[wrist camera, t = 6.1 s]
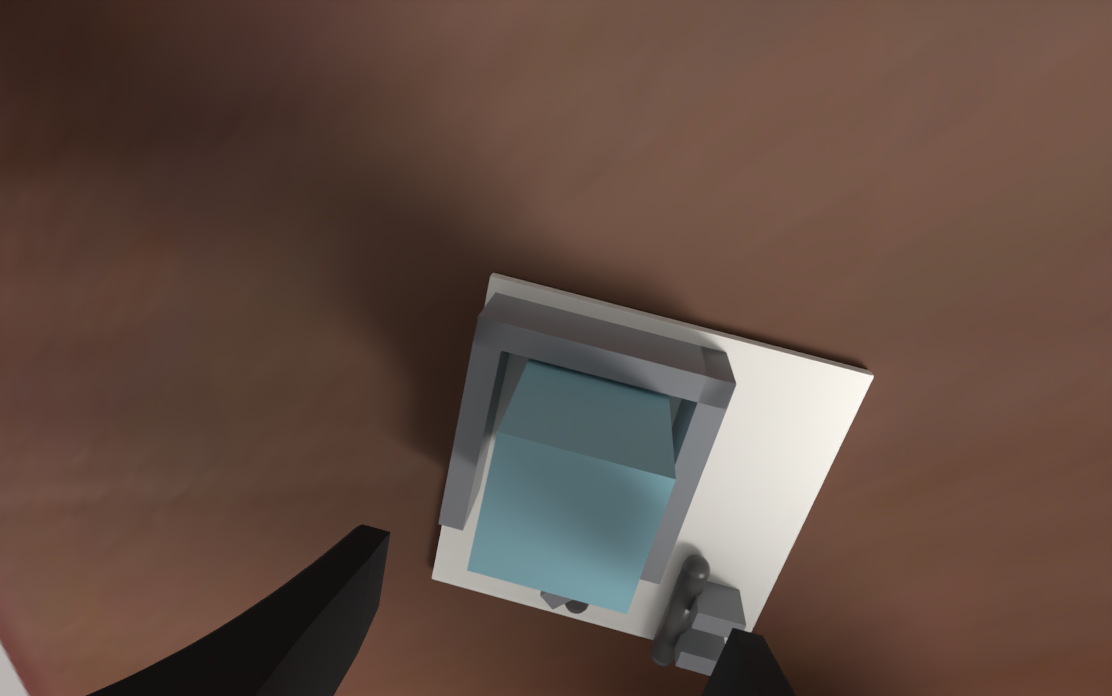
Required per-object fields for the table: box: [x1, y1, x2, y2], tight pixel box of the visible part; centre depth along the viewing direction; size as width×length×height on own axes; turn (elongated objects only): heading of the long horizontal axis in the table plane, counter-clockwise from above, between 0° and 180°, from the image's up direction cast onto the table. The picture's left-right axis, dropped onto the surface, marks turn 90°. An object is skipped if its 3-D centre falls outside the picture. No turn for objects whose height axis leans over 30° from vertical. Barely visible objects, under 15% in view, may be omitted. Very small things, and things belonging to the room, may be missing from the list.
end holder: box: [438, 292, 736, 585], centre depth 19 cm, size 7×7×3 cm
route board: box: [432, 273, 874, 676], centre depth 21 cm, size 12×12×2 cm
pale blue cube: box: [467, 358, 676, 614], centre depth 17 cm, size 5×4×6 cm
